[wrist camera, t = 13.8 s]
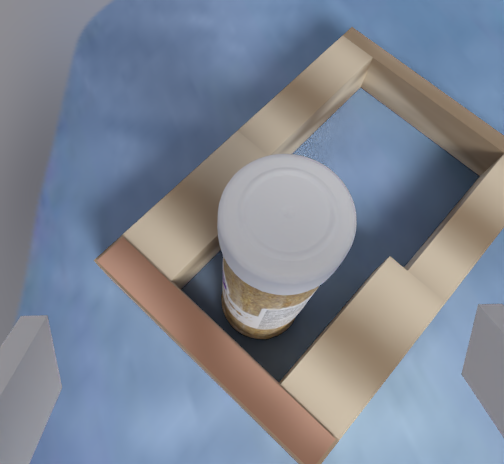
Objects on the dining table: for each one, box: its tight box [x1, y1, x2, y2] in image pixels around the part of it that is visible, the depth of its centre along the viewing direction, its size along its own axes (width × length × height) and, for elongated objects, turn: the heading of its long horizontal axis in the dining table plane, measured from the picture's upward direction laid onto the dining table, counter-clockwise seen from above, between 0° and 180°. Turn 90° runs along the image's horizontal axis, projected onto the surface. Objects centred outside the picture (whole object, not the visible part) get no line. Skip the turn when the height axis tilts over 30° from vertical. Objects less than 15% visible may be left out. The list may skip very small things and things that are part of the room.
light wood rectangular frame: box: [94, 27, 504, 464], centre depth 28 cm, size 22×15×3 cm
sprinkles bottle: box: [217, 154, 357, 339], centre depth 21 cm, size 5×5×14 cm
